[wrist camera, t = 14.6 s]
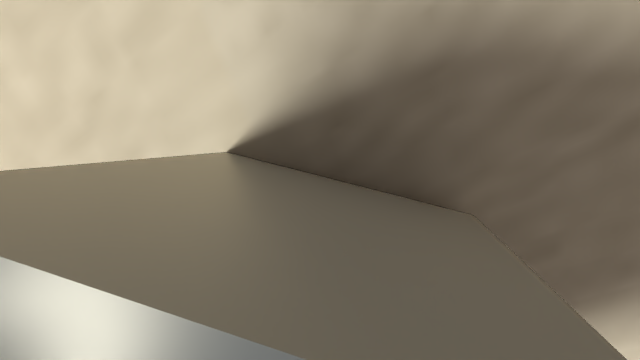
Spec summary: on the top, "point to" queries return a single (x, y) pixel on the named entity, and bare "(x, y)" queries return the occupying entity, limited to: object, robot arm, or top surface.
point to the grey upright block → (260, 270)
